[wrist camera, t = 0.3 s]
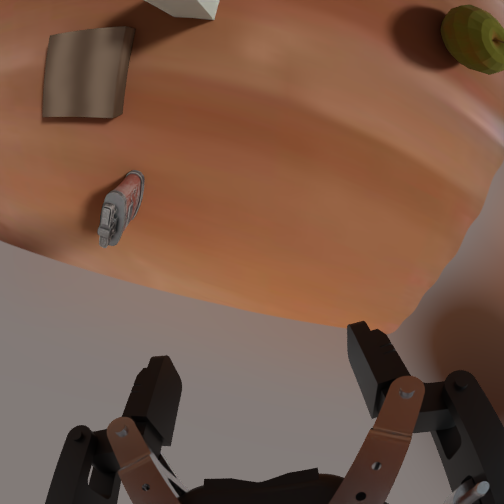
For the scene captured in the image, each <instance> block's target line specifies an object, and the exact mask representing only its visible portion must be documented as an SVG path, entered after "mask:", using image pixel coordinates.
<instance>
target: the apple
mask: <svg viewBox="0 0 504 504" xmlns="http://www.w3.org/2000/svg"><path fill="white" fill-rule="evenodd" d="M440 30H441V35H442V39H443V42H444V44H445V46H446V48H447V50H448V51H449V52H450V54H451V55H452V56H453V57H454V58H455V59H456V60H457V61H458V62H460V63H461V64H463V65H464V66H466V67H467V68H469V69H473V70H476V71H479V72H482V73H486V74H489V75H490V74H494V73H497V72H500V71H503V70H504V29H503V27H502V26H501V25H500V23H499V22H498V21H497V20H496V19H495V18H494V17H493V16H492V15H491V14H490V13H488V12H486V11H484V10H482V9H480V8H478V7H475V6H472V5H463V6H459V7H456V8H453V9H451V10H450V11H449V12H448V13H447V15H446V16H445V18H444V19H443V21H442V25H441V29H440Z"/></svg>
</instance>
